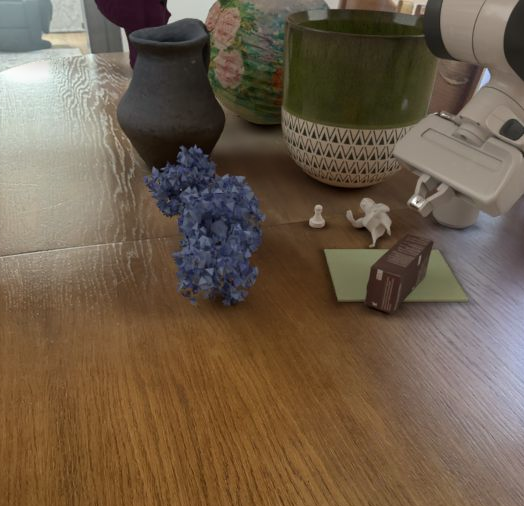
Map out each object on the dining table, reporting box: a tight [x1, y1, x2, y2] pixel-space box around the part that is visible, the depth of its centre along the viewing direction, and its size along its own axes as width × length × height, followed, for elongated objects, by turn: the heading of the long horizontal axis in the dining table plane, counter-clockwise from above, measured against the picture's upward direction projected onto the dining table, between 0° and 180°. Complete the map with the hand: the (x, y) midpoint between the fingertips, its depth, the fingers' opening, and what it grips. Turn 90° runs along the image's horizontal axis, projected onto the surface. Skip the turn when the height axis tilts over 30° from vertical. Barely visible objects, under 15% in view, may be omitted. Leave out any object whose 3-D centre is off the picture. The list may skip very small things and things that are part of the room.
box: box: [364, 232, 435, 315], centre depth 76 cm, size 6×4×12 cm
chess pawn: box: [308, 204, 326, 229], centre depth 93 cm, size 3×3×4 cm
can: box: [431, 190, 481, 229], centre depth 93 cm, size 8×8×12 cm
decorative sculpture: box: [143, 144, 266, 307], centre depth 78 cm, size 14×15×30 cm
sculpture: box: [93, 0, 172, 71], centre depth 160 cm, size 18×22×30 cm
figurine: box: [345, 197, 393, 249], centre depth 91 cm, size 6×6×12 cm
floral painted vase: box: [203, 0, 331, 125], centre depth 127 cm, size 32×33×30 cm
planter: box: [281, 8, 441, 189], centre depth 101 cm, size 27×27×27 cm
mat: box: [323, 248, 469, 303], centre depth 82 cm, size 18×14×1 cm
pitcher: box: [116, 17, 227, 174], centre depth 105 cm, size 21×22×25 cm
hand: (415, 210), depth 77 cm, fingers closed
